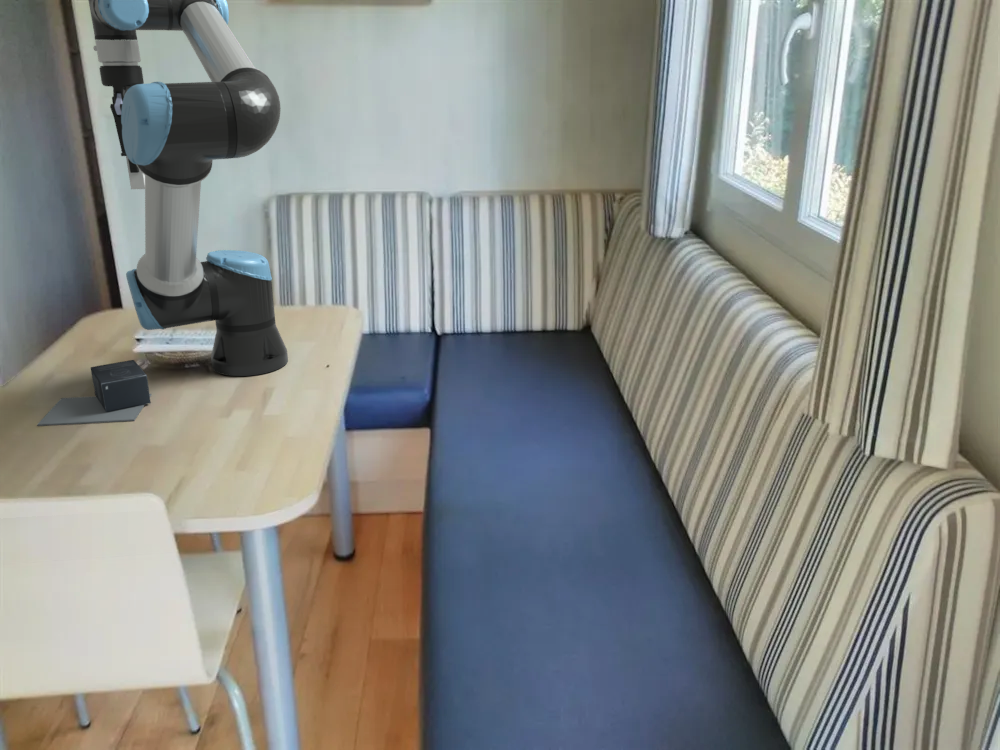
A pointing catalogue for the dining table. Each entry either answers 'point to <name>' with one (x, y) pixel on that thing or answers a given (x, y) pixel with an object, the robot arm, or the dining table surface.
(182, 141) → the robot arm
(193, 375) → the dining table surface
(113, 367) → the box
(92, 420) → the mat
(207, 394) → the dining table surface
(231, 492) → the dining table surface
